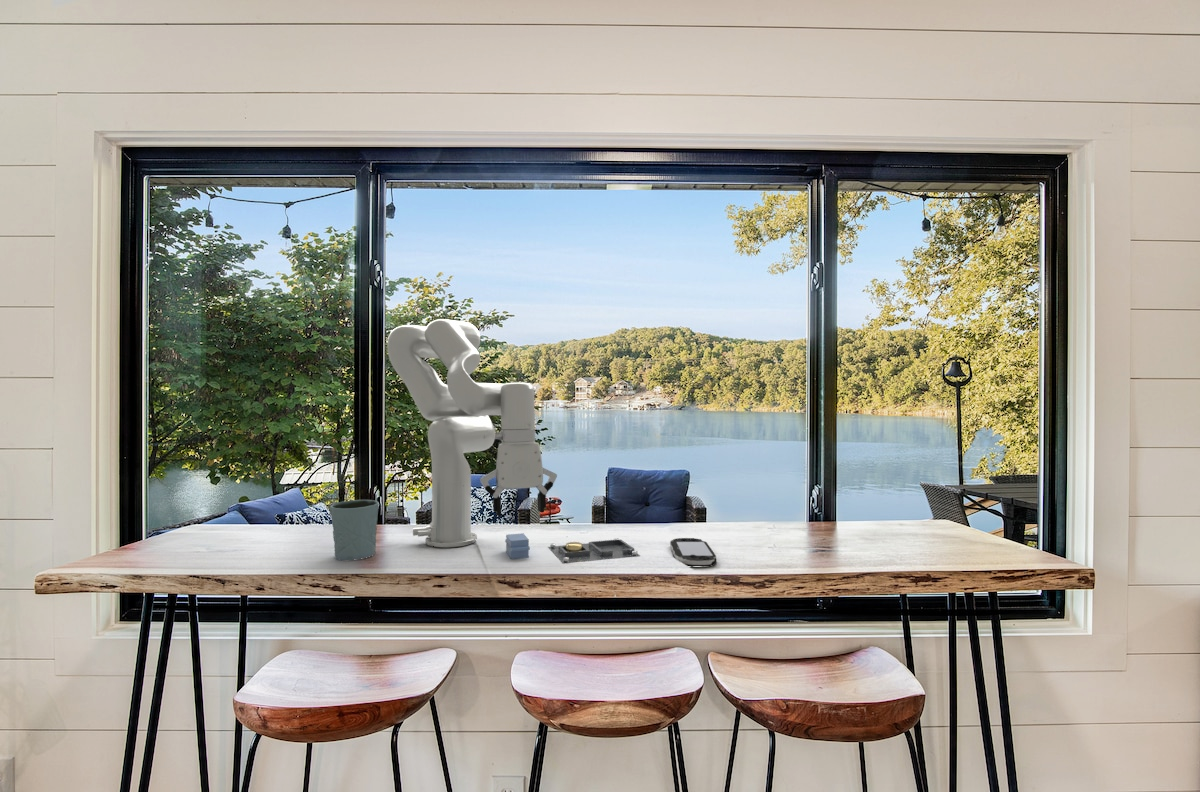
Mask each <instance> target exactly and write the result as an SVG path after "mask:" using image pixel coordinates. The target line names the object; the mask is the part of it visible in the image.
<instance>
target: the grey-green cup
mask: <svg viewBox="0 0 1200 792" xmlns="http://www.w3.org/2000/svg"><path fill="white" fill-rule="evenodd" d="M379 504H380V503H379V501H377V500H373V499H351V500H343V501H340V502H339V501H338V502H336V503H333V504H331V505H330V506H329V507H330V508H329V509H330V513H331V514H330V516H331V525H332V529H333V530H332V535H333V536H332V537H333V541H334V544H333V545H334V547H333V548H334V558H335V559H336V560H337V559H340V560H339V561H342V560H354V559H361V558H366V557H369V556H372V555H374V556H375V554H376V547H377V546H376V543H377V524H378V514H379ZM372 557H373V556H372ZM369 558H370V557H369ZM366 559H367V558H366ZM354 561H355V560H354Z"/></svg>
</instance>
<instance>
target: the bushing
mask: <svg viewBox="0 0 1200 792" xmlns="http://www.w3.org/2000/svg"><path fill="white" fill-rule="evenodd" d="M582 544H583V543H581V542H579V541H570V542H569V541H568V542H566V544H565V545H566V551H567V552H572V551H582Z"/></svg>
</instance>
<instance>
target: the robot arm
mask: <svg viewBox="0 0 1200 792" xmlns="http://www.w3.org/2000/svg"><path fill="white" fill-rule="evenodd" d="M386 345H387V354H388V358H389V362H390V365H392V367H393V370H394V371H395V373H397V375H398V376H399V377H400V379H401V380H402V382H403V383H404V385H405V387H406V388H407V390H408V392H409V395H410V396H411V398H412V400H413V401H414V403H415V405H416V407H417V409H418V410H419V413H420V414H421V416H422V417H423V418H424V419H425V420H427V421H430V422H431V424H430V425H429V427H428V430H427V441H428V447H429V452H430V458H431V522H430V523H429V525H426V526H425V527H421V526H420V527H419V526H418V527H412V537H413V536H414V537H415V536H417V537H424V536H425V542H424V543H425V544H426V545H427V546H429V547H433V546H434V547H435V548H456V547H457V548H458V547H463V546H464V547H465V546H468V545H469V546H470V545H471V544H473V543H475V542H477V539H478V535H477V534H476V533H474V532H472V529H471V527H472V523H471V522H472V519H471V517H472V511H471V510H472V473H471V471H472V470H471V466H470V464H469V462H468V460H467V459H466V457H465V454H466V453H477V452H482V451H486V450H488V449H490V448H491V447H492V446H493V444H494V443H495V440H500V441H501V443H498V446H497V447H498V448H497V453H496V465H495V466H496V468H495V469H494V470H492V471H491V472H488V473H487V474H485V475H483V476H481V477H480V478H479V481H480V484H481V485H482V486H483V488H484V490H485V491H486V492H487V493H488V494H489V495H490V496H491V497H492V508H493V509H492V510H493V513H495V515H496V516H497V517H501V516H502V499H501V497H500V495H501V494H502V493H503V491H504V490H517V489H520V490H521V489H531V488H532V489H533V488H536V489H537V490H538V493H537V510H538V512H540V513H541V514H542V513H544V512H545V509H546V508H547V498H546V497H547V494H548V492H549V491H550V490H551V489H552V488H553V486H554V484H555V482H556V479H557V477H558V474H557V473H556V472H552V471H551V470H549V469H547V468H544V467H543V459H542V453H541V452H542V450H541V447H540V443H539V442H536V427H535V426H536V423H535V420H536V419H535V415H536V414H535V390H534V389H535V388H534V385H532V384H531V383H529V382H506V383H497V382H496V383H493V382H475V380H473V379H472V378H471V376H470V375H471V374H472V373H474V372H475V370H476V369H478V367H479V364H480V362H481V355H480V353H479V351H478V349H479V347H480V345H481V335H480V331H479V330H478V328H477V327H476V326H475V325H474V324H472V323H470V322H468V321H461V320H454V319H446V318H445V319H444V318H439V319H435V320H432V321H431V322H430V323H428V324H427V325H426V326H423V325H415V324H404V325H399V326H397V327H395V328H393V329H392V330H391V331H390V333H389V335H388V338H387V344H386ZM422 358H423V359H422ZM424 358H425V359H439V360H440V361H441V362H442V363H443V365H444V366H445V367H446V369H447V370H448V371H447V375H446V383H444V382H443V381H442V380H441V378H440V377H439V375H438V373H437V371H436V370H435V369H434V367H432V366H431V365H430V364H429V363H428V362H427V361H425V359H424ZM490 416H500V425H501V426H500V427H501V428H500V431H499V432H496V430H495V427H494V424H493V422H492V420H491V418H490ZM544 475H545V476H547V477H548V479H547V481H546V483H545V484H544ZM494 478H495V481H496V482H495V483H496V486H495V487H494V489H493V488H492V487H491V485H490V483H489V481H491V480H493V479H494Z"/></svg>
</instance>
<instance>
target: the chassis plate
mask: <svg viewBox="0 0 1200 792" xmlns="http://www.w3.org/2000/svg"><path fill="white" fill-rule="evenodd" d="M547 548H548V549H549V550H550V551H551V552H552V553H553V555H554V556H556V558H557V559H558V560H559V561H560V563H562V564H569V563H570V564H571V563H572V564H573V563H582V562H583V563H585V562H592V561H602V560H603V561H604V560H613V559H614V560H615V559H624V558H633V557H634V558H635V557H641V555H640V554H638V550H635V547H633V546H631V545H630V544H629V543H627V542H625V541H624V540H622V539H619V538H617V537H615V538H613V539H608V540H607V539H605V540H597V541H595V540H594V541H589V542H588V543H582V551H572V552H567V551H566V544H565V545H556V543H554V542H553V543H550V544H549V546H547Z"/></svg>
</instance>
